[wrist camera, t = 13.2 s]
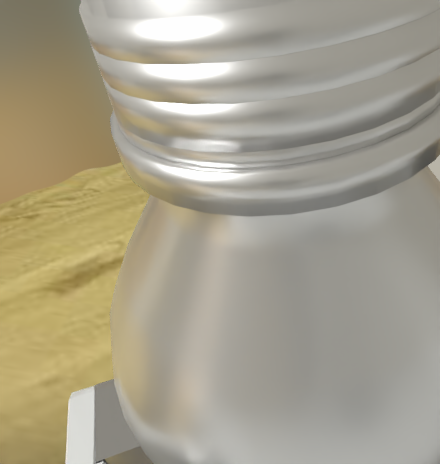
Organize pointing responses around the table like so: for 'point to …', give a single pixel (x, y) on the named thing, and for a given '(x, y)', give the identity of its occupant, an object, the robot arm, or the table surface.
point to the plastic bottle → (277, 227)
